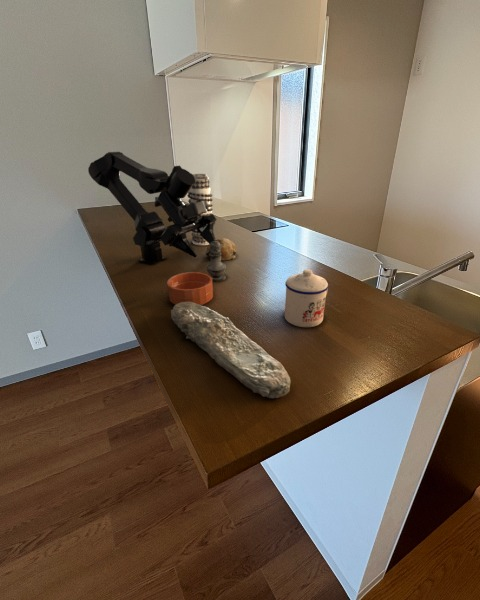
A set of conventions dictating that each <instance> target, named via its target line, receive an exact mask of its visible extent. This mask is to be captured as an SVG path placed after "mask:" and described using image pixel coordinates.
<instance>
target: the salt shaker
mask: <svg viewBox="0 0 480 600" xmlns="http://www.w3.org/2000/svg"><path fill="white" fill-rule="evenodd" d="M216 240H217V239H216V237H215V238H214V241H213V242H211V243H210V244H209V245H210V254H209V255H210V257H211V259H210V263H209V264H206V266H205V268H206V271H207V273H208V275H209V276H211V278H212V282H222V281H224V280H226V278H227V277H226V275H224V273H225V271H226V269H227V265H226V264H225V263H223V262H222V260H221V255H222V253H220V243H219V242H217V241H216Z"/></svg>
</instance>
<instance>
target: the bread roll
mask: <svg viewBox="0 0 480 600" xmlns="http://www.w3.org/2000/svg"><path fill="white" fill-rule="evenodd" d="M216 241H217V242H219V243H220V253H222V255H221V261H229V260H233V259H235V258H236V255H237V247H236V244H235V243H234V242H233V241H232V240H229V239H228V238H220V237H219V238H217V239H216ZM209 254H210V244H209V245H207V246H206V250H205V255H206V256H208V258H209V259H210V260H211V257H210V255H209Z"/></svg>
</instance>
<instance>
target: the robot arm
mask: <svg viewBox="0 0 480 600" xmlns="http://www.w3.org/2000/svg"><path fill="white" fill-rule="evenodd" d="M87 170H88V171H87V172H88V175H89V176H90V178H91V179H92V180H93V181H94V182H95V183H96V184H97V185H99V186H101V187H103V188H105V189H107V190H108V191H109V192H110V193H111V195H112V196H113V197H114V198H115V200H116V201H117V202H118V203H119V204H120V206H121V207H122V208H123V209H124V210H125V212H126V213H127V214H128V215H129V216H130V218H131V219H132V220H133V222H134V229H135V230H134V231H136V232H135V234H134V235H133V238H132V240H133V242H134V245H135V246H140V252H141V258H139V259H138V262H141V263H145V264H149V265H154V264H156V263H159V262H161V261H165V260H166V258H167V257H166V256H163V251H162V247H161V242H162V243H163V245H164V246H169V247H173V248H176V249H177V250H180V251H182V252H184V253H185V254H187V255H188V256H190V257H193V258H197V257H198V253H197V252H196V250H195V248H194V247H193V246H192V244H191V242H190V241H189V239H188V237H187V233H190V232H192V231H193V230H197V231H198V232H200V233H201V234H200V236H201V237H202V238H204V239H205V240H206V241H207V242H208V243H209V245H210V243H211V242H213V241H214V238H215V239H216V235H215V232H214V226H215V224H216V222H217V217H216V216H215V215H214V214H213V213H211V214H207V215H204V216H202V217H201V219H200V220H199V221H198V222H196V220H198V218H199V216H198V215H200V214H202V213H206V212H207V210H206V209H208V204H207V202H206V201H205V200H204V199H199V200H198V201H196V203H193V204H191V205H189V204H190V203H187V204H185V203H184V202H183V200H182V199H185V198H186V197H187V195H188V192H189V190H190V189H191V188H192V186H193V185H194V183H195V178H194V176H193V175H192V174H193V173H191V172H190V171H189V170H187V169H186V168H183V167H182V166H181V165H174V166H173V168H172V171H171V172H170V174H168V173H167V172H166V171H164V170H160V169H157V168H152V167H151V168H150V167H146V166H144V165H142V164H141V163H140V162H137V161H135V160H133V159H132V158H130V157H129V156H127V155H125V154H124V153H123V152H121V151H107V152H106V153H104V155H103V156H101V157H99V158H97V159H95V160H94V161H92V162H90V163H89V166H88V169H87ZM120 172H121V173H123V174H124V175H127V176H128V177H130V178H132V179H134V180H135V181H137V183H138V185H139V187H140V188H141V189H142V190H143V191H144V192H145V193H147V194H149V195H153V194H158V193H159V195H158V196H155V197H154V207H155V208H158V207H162V209H163V210H164V212H165V213H166V214H167V216H168V218H167V221H168V222H169V223H171V222H172V223H173V224H170V225H167V226H166V224H165V223H164V222H163V221H164V220H163V219H162V218H161V217H160V216H159V214H158V213H157V212H156V211H150V212H149V211H147V210H146V209H145V208H144V206H143V205H142V204H141V203H140V202H139V200H138V199H137V198H136V197H135V196H134V194H133V193H132V192H131V191H130V190H129V189H128V188H127V186H126V184H124V182H123V180H121V173H120Z"/></svg>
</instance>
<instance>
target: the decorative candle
mask: <svg viewBox="0 0 480 600" xmlns="http://www.w3.org/2000/svg"><path fill="white" fill-rule="evenodd" d="M191 174H192V175H193V176H194V178H195V183H194V185H193V186H192V188H191V189H190V190H189V192H188V193H187V195H186V197H187V198H188V201H187V202H188V204H189V205H191V204H193V203H196V201H198V200H199V199H204V200H205V201H206V202H207V204H208V209H206V210H207V212H206V213H202V214H200V215H198V216H199V218H198V220H196V222H198V221H199V220H200V219H201V217H202V216H204V215H207V214H213V210H214V209H213V208H212V207H213V206H214V205H213V204H212V203H211V202H213V200H214V199H213V198H212V197H213V194H212V193H211V186H210V185H211V184H210V180H211V178H210V177H209V176H208V174H206V173H191ZM190 234H191V240H192V244H193V245H196V246H209V245H210V244H209V243H208V242H207V241H206V240H205V239H204V238H202V237H201V236H200V234H201V233H200V232H198V231H197V230H193V231H191V233H190Z"/></svg>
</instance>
